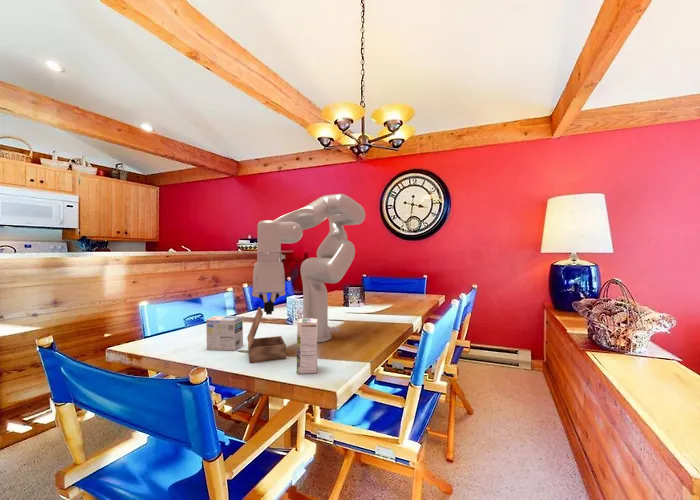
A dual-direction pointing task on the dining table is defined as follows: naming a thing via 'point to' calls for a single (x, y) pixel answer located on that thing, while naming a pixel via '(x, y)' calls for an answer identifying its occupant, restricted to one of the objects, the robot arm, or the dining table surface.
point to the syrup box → (307, 345)
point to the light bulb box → (224, 332)
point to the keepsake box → (267, 349)
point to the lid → (254, 326)
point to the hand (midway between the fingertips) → (268, 313)
